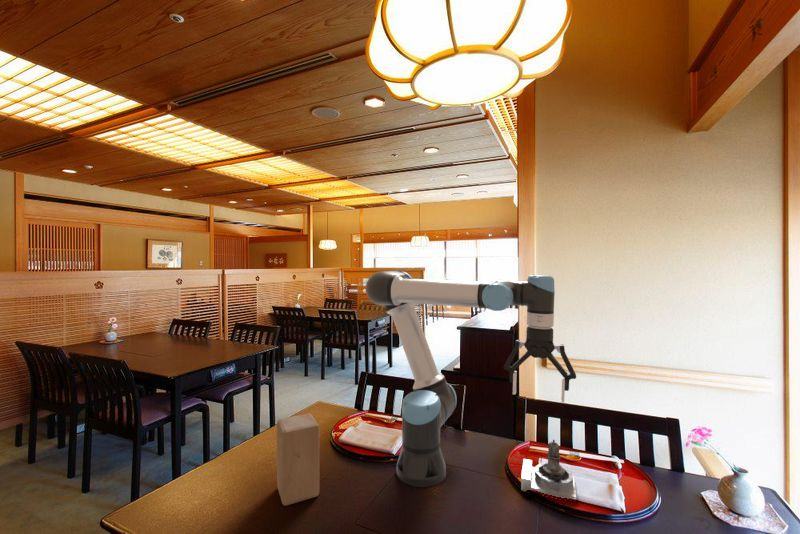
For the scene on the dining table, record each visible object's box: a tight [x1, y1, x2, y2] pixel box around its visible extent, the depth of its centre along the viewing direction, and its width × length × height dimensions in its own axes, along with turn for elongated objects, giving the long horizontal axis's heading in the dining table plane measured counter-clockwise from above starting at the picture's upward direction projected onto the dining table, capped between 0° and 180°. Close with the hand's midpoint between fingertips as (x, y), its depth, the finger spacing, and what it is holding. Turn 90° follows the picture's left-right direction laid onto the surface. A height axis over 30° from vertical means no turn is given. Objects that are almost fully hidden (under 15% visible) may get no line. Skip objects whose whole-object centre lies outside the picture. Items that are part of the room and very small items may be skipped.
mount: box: [520, 458, 577, 499], centre depth 104 cm, size 14×11×4 cm
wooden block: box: [276, 413, 320, 506], centre depth 101 cm, size 10×10×20 cm
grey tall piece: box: [543, 439, 565, 481], centre depth 103 cm, size 6×6×12 cm
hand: (538, 397), depth 108 cm, fingers open, 13 cm apart
